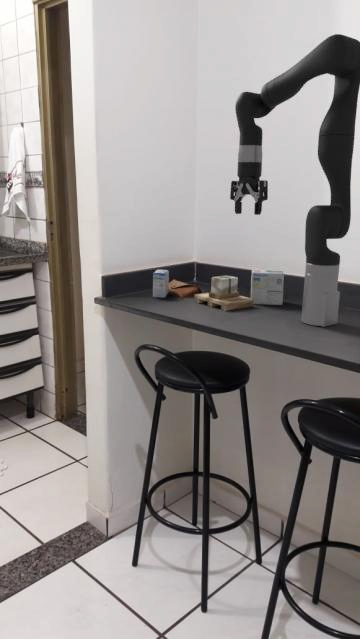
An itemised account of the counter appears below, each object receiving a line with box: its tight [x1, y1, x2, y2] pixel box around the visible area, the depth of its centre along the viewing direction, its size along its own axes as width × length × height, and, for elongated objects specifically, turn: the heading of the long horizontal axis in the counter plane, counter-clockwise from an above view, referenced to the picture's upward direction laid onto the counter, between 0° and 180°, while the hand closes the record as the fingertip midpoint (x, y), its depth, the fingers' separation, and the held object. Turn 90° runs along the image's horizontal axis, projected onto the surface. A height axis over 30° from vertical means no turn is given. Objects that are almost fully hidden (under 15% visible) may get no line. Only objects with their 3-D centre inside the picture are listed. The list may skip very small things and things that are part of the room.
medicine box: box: [152, 269, 170, 299], centre depth 182 cm, size 8×4×9 cm, turn 172°
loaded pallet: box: [208, 275, 240, 300], centre depth 169 cm, size 5×9×6 cm, turn 128°
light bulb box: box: [250, 269, 285, 306], centre depth 173 cm, size 11×7×11 cm, turn 84°
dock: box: [193, 292, 254, 312], centre depth 170 cm, size 16×12×2 cm
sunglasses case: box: [168, 278, 202, 299], centre depth 188 cm, size 18×7×7 cm
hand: (247, 214), depth 165 cm, fingers open, 8 cm apart
